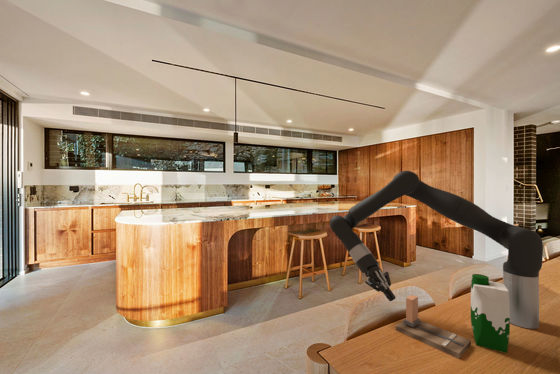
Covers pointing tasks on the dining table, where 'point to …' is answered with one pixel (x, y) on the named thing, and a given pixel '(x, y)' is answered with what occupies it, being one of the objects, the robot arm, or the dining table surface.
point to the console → (436, 338)
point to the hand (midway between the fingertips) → (393, 299)
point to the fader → (412, 311)
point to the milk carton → (490, 313)
